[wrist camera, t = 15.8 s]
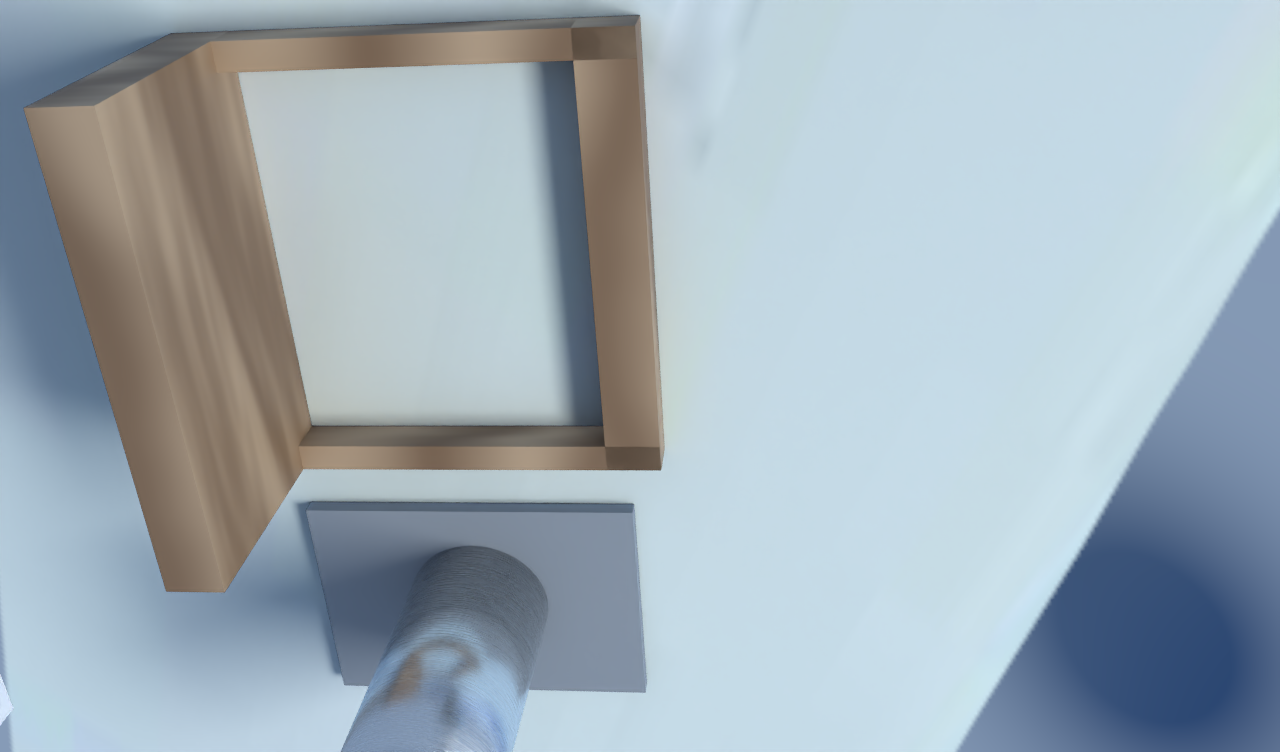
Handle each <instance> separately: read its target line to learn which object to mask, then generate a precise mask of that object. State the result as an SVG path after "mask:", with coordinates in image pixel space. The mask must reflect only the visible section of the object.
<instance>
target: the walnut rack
mask: <svg viewBox="0 0 1280 752" xmlns="http://www.w3.org/2000/svg"><path fill="white" fill-rule="evenodd" d="M547 61H573V64H574V76H575V88H576V100H577V112H578V125H579V137H580V149H581V161H582V173H583V185H584V197H585V210H586V222H587V234H588V246H589V258H590V270H591V282H592V295H593V307H594V319H595V331H596V343H597V355H598V367H599V380H600V392H601V404H602V416H603V426H312V425H311V420H310V415H309V410H308V406H307V401H306V396H305V391H304V387H303V382H302V377H301V372H300V368H299V363H298V358H297V353H296V349H295V344H294V339H293V334H292V330H291V325H290V320H289V315H288V311H287V306H286V301H285V296H284V292H283V287H282V282H281V277H280V273H279V268H278V263H277V258H276V254H275V249H274V244H273V239H272V234H271V230H270V225H269V220H268V215H267V211H266V206H265V201H264V196H263V192H262V187H261V182H260V177H259V173H258V168H257V163H256V158H255V154H254V149H253V144H252V139H251V135H250V130H249V125H248V120H247V116H246V111H245V106H244V101H243V97H242V92H241V87H240V82H239V77H238V73H237V72H259V71H288V70H316V69H345V68H374V67H403V66H432V65H460V64H489V63H518V62H547ZM23 109H24V112H25V115H26V119H27V122H28V125H29V129H30V132H31V136H32V139H33V142H34V146H35V149H36V153H37V156H38V159H39V163H40V166H41V169H42V173H43V176H44V180H45V183H46V186H47V190H48V193H49V197H50V200H51V203H52V207H53V210H54V213H55V217H56V220H57V224H58V227H59V230H60V234H61V237H62V241H63V244H64V247H65V251H66V254H67V257H68V261H69V264H70V268H71V271H72V274H73V278H74V281H75V284H76V288H77V291H78V295H79V298H80V301H81V305H82V308H83V312H84V315H85V318H86V322H87V325H88V328H89V332H90V335H91V339H92V342H93V345H94V349H95V352H96V356H97V359H98V362H99V366H100V369H101V372H102V376H103V379H104V383H105V386H106V389H107V393H108V396H109V400H110V403H111V406H112V410H113V413H114V416H115V420H116V423H117V427H118V430H119V433H120V437H121V440H122V444H123V447H124V450H125V454H126V457H127V460H128V464H129V467H130V471H131V474H132V477H133V481H134V484H135V488H136V491H137V494H138V498H139V501H140V504H141V508H142V511H143V515H144V518H145V521H146V525H147V528H148V532H149V535H150V538H151V542H152V545H153V548H154V552H155V555H156V559H157V562H158V565H159V569H160V572H161V576H162V579H163V582H164V586H165V589H166V592H225V591H226V590H227V588H228V587H229V585H230V583H231V582H232V580H233V579H234V577H235V576H236V574H237V572H238V571H239V569H240V568H241V566H242V565H243V563H244V561H245V560H246V558H247V557H248V555H249V554H250V552H251V550H252V549H253V547H254V546H255V544H256V543H257V541H258V539H259V538H260V536H261V535H262V533H263V532H264V530H265V528H266V527H267V525H268V524H269V522H270V521H271V519H272V517H273V516H274V514H275V513H276V511H277V510H278V508H279V506H280V505H281V503H282V502H283V500H284V499H285V497H286V496H287V494H288V492H289V491H290V489H291V488H292V486H293V485H294V483H295V481H296V480H297V478H298V477H299V475H300V474H301V472H302V470H303V469H431V470H661V468H662V461H663V455H664V433H663V415H662V397H661V380H660V362H659V344H658V326H657V308H656V291H655V273H654V255H653V237H652V219H651V201H650V184H649V166H648V148H647V130H646V112H645V95H644V77H643V59H642V41H641V23H640V15H633V16H607V17H582V18H556V19H530V20H504V21H479V22H453V23H427V24H401V25H375V26H350V27H324V28H298V29H272V30H246V31H221V32H195V33H171V34H169V35H167V36H165V37H163V38H161V39H159V40H157V41H155V42H153V43H151V44H149V45H147V46H145V47H143V48H141V49H139V50H137V51H135V52H133V53H131V54H129V55H127V56H125V57H123V58H121V59H119V60H117V61H115V62H113V63H111V64H109V65H108V66H106V67H104V68H102V69H100V70H98V71H96V72H94V73H92V74H90V75H88V76H86V77H84V78H82V79H80V80H78V81H76V82H74V83H72V84H70V85H68V86H66V87H64V88H62V89H60V90H58V91H56V92H54V93H52V94H50V95H48V96H46V97H44V98H42V99H40V100H38V101H36V102H34V103H32V104H30V105H28V106H26V107H24V108H23Z"/></svg>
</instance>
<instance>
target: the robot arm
mask: <svg viewBox="0 0 1280 752" xmlns="http://www.w3.org/2000/svg"><path fill="white" fill-rule="evenodd" d="M12 709H13V706H12V703H11V701H10V698H9V696H8V693H7V691H6V688H5V685H4V683H3V680H2V678H1V675H0V725H1V723H2V722H3V721H4V720H5V718H6V717H7V716H8V715H9V713H10V712H11V711H12Z"/></svg>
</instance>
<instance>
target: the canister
mask: <svg viewBox="0 0 1280 752" xmlns="http://www.w3.org/2000/svg"><path fill="white" fill-rule="evenodd" d="M548 611H549V609H548V599H547V595H546V593H545V590H544V588H543V586H542V584H541V582H540V581H539V579H538V578H537V576H536V575H535V574H534V573H533V572H532V571H531V570H530V569H529V568H528V567H527V566H526V565H525V564H523V563H522V562H521V561H519V560H518V559H516V558H514V557H512V556H511V555H509V554H506V553H504V552H501V551H499V550H495V549H492V548H487V547H482V546H461V547H455V548H451V549H448V550H445V551H442V552H440V553H438V554H436V555H435V556H433V557H432V558H430V559H429V560H428V561H427V562H426V563H425V564H424V565H423V566H422V567H421V569H420V570H419V572H418V573H417V576H416V578H415V580H414V583H413V585H412V587H411V590H410V592H409V594H408V597H407V599H406V601H405V603H404V606H403V608H402V610H401V613H400V615H399V617H398V620H397V622H396V624H395V627H394V629H393V631H392V634H391V636H390V638H389V641H388V643H387V645H386V648H385V650H384V652H383V655H382V657H381V659H380V662H379V664H378V666H377V669H376V671H375V673H374V676H373V678H372V680H371V683H370V685H369V687H368V689H367V692H366V694H365V696H364V699H363V701H362V703H361V706H360V708H359V710H358V713H357V715H356V717H355V720H354V722H353V724H352V727H351V729H350V731H349V734H348V736H347V738H346V741H345V743H344V745H343V748H342V750H341V752H513V748H514V744H515V740H516V737H517V733H518V729H519V725H520V721H521V717H522V714H523V710H524V706H525V702H526V698H527V695H528V691H529V687H530V683H531V679H532V676H533V672H534V668H535V664H536V660H537V657H538V653H539V649H540V645H541V641H542V637H543V634H544V630H545V626H546V622H547V618H548Z"/></svg>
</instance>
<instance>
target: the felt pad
mask: <svg viewBox="0 0 1280 752" xmlns="http://www.w3.org/2000/svg"><path fill="white" fill-rule="evenodd" d="M306 514H307V518H308V523H309V527H310V532H311V536H312V541H313V545H314V550H315V554H316V559H317V564H318V568H319V573H320V577H321V582H322V586H323V591H324V595H325V600H326V604H327V609H328V613H329V618H330V622H331V627H332V631H333V636H334V640H335V645H336V649H337V654H338V659H339V663H340V668H341V672H342V677H343V681H344V685H355V686H369V685H370V683H371V680H372V678H373V676H374V673H375V671H376V669H377V666H378V664H379V662H380V659H381V657H382V655H383V652H384V650H385V648H386V645H387V643H388V641H389V638H390V636H391V634H392V631H393V629H394V627H395V624H396V622H397V620H398V617H399V615H400V613H401V610H402V608H403V606H404V603H405V601H406V599H407V597H408V594H409V592H410V590H411V587H412V585H413V583H414V580H415V578H416V576H417V573H418V572H419V570H420V569H421V567H422V566H423V565H424V564H425V563H426V562H427V561H428V560H429V559H430V558H432V557H433V556H435V555H436V554H438V553H440V552H442V551H445V550H448V549H451V548H455V547H461V546H482V547H487V548H492V549H495V550H499V551H501V552H504V553H506V554H509V555H511V556H512V557H514V558H516V559H518V560H519V561H521V562H522V563H523V564H525V565H526V566H527V567H528V568H529V569H530V570H531V571H532V572H533V573H534V574H535V575H536V576H537V578H538V579H539V581H540V582H541V584H542V586H543V588H544V590H545V593H546V595H547V599H548V609H549V611H548V618H547V622H546V626H545V630H544V634H543V637H542V641H541V645H540V649H539V653H538V657H537V660H536V664H535V668H534V672H533V676H532V679H531V683H530V687H529V690H560V691H601V692H641V693H645V692H646V685H647V679H646V665H645V651H644V636H643V622H642V608H641V594H640V580H639V566H638V552H637V538H636V524H635V510H634V504H520V503H375V502H311V503H310V504H309V506H308V508H307V509H306Z"/></svg>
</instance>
